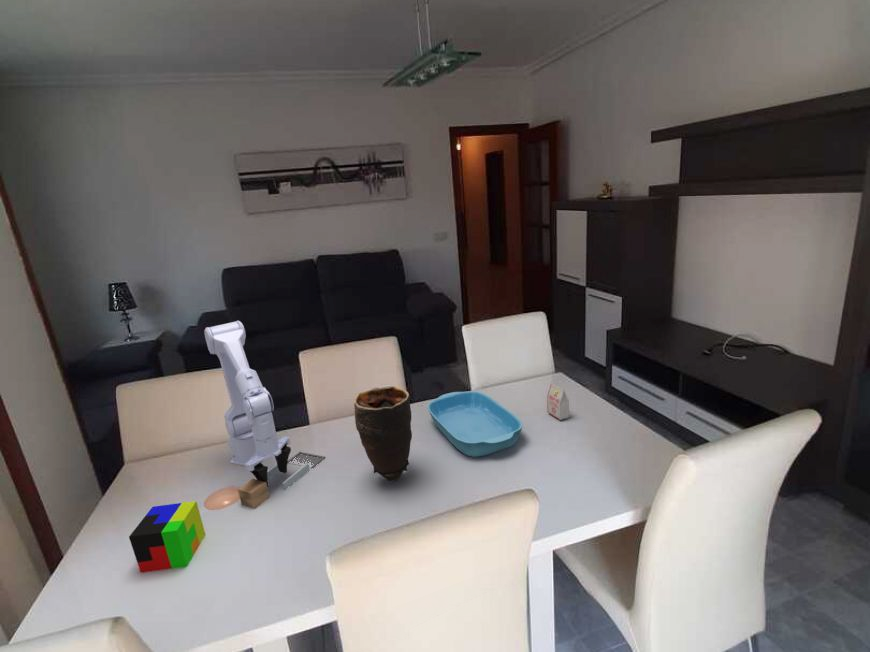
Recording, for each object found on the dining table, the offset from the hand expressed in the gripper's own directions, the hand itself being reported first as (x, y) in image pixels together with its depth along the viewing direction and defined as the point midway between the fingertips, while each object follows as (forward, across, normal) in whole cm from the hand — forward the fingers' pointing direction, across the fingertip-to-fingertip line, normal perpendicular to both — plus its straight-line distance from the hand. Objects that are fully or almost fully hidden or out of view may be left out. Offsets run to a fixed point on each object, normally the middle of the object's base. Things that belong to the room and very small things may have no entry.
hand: (274, 479), depth 127 cm
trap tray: (+2, +13, 0) cm, 13 cm away
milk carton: (+2, +62, -66) cm, 91 cm away
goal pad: (+2, -9, +10) cm, 14 cm away
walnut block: (+2, -7, 0) cm, 8 cm away
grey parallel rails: (+2, +4, 0) cm, 5 cm away
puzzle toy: (+2, -28, +4) cm, 28 cm away
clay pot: (+2, +13, -30) cm, 33 cm away
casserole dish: (+3, +43, -43) cm, 61 cm away
